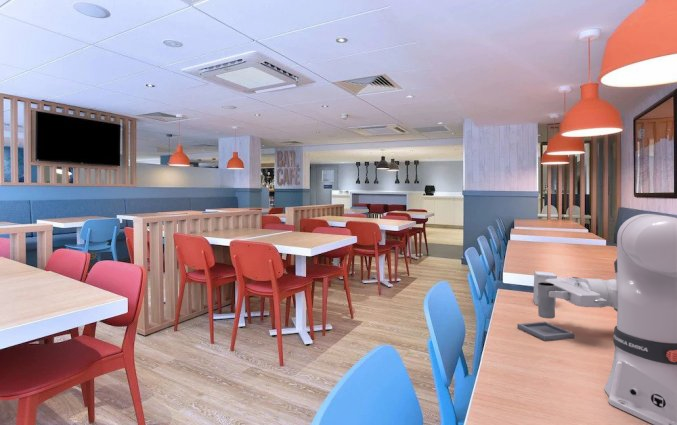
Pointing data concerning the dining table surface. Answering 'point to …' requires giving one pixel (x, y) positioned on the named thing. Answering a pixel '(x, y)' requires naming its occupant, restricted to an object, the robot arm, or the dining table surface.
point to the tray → (545, 331)
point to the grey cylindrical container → (546, 301)
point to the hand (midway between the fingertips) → (543, 291)
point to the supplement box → (540, 278)
